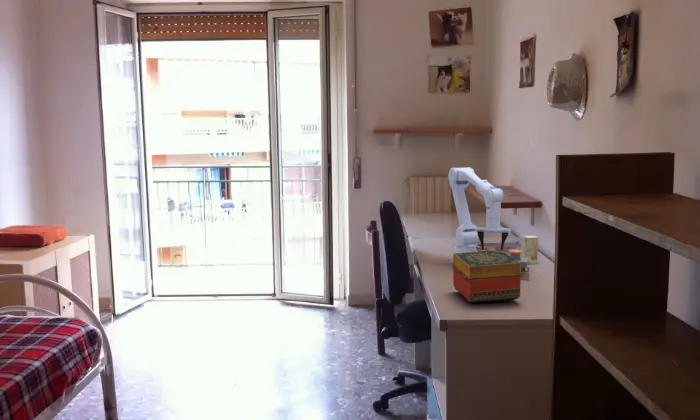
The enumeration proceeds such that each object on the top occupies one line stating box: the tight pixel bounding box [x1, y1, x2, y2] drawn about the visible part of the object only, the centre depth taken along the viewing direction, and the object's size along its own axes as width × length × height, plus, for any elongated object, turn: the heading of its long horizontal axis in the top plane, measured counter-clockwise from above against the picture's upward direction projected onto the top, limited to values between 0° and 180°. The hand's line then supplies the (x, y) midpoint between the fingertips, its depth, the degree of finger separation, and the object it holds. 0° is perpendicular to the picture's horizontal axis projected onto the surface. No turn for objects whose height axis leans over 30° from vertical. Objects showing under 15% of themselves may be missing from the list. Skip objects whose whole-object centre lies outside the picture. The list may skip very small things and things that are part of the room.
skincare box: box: [520, 235, 539, 265], centre depth 275 cm, size 6×4×12 cm
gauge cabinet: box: [516, 257, 528, 267], centre depth 261 cm, size 10×8×5 cm
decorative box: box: [452, 249, 522, 303], centre depth 219 cm, size 20×22×16 cm
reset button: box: [508, 248, 522, 261], centre depth 260 cm, size 5×5×5 cm
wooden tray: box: [520, 265, 530, 281], centre depth 253 cm, size 21×11×4 cm, turn 73°
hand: (492, 249), depth 253 cm, fingers open, 7 cm apart
